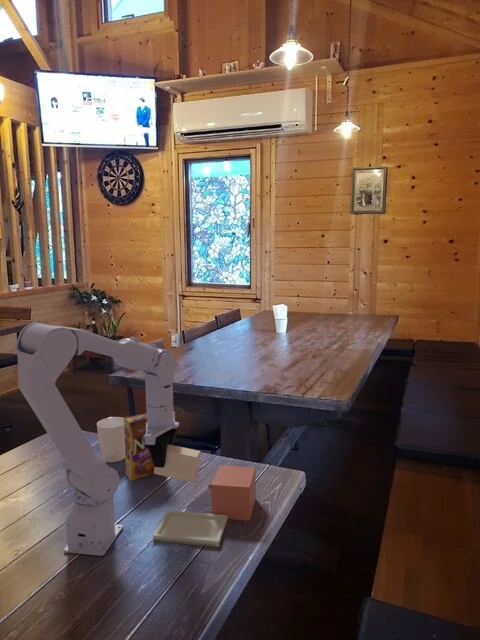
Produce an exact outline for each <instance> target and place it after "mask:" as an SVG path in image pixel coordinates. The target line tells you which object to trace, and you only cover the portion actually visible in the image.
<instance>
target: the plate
mask: <svg viewBox="0 0 480 640" xmlns="http://www.w3.org/2000/svg"><path fill="white" fill-rule="evenodd" d="M228 521H229V519H228V515H220V514H212V513H207V512H196V511H195V512H193V511H179V510H169V509H168V510H167V511H166V512H165V513H164V516H163V517H162V518H161V521H160V523H159V525H158V526H157V528H156V529H155V531H154V532H153V535H152V541H153V542H158V543H159V542H160V543H167V544H168V543H169V544H171V543H172V544H181V545H190V546H191V545H193V546H201V547H202V546H203V547H204V546H205V547H214V548H219V547H220V545H221V543H222V539H223V536H224V533H225V530H226V527H227V524H228Z"/></svg>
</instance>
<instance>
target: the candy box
mask: <svg viewBox="0 0 480 640" xmlns="http://www.w3.org/2000/svg"><path fill="white" fill-rule="evenodd" d="M123 418H124V435H125V475H126V477H127V478H128V479H129V480H130V481H131V482H133V481H136V480H138V479H142V478H147V477H149V476H152V475H155V474H154V464H153V461H152V457H151V454H150V452H149V450H148V448H147V446H146V445H145V443H144V442H143V437H144V435H145V434H146V423H147V412H146V413H141V414H135V415H130V416H124V417H123Z"/></svg>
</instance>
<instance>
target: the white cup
mask: <svg viewBox="0 0 480 640" xmlns="http://www.w3.org/2000/svg"><path fill="white" fill-rule="evenodd" d="M96 429H97V438H98V446H99V451H100V453H99V454H100V457H101V458H102V459H103V460H104V461H105V462H106V463H118V462H120V461H124V459H125V435H124V417H121V416H118V417H117V416H110V417H107V418H103V419H101V420H99V421H97V422H96Z"/></svg>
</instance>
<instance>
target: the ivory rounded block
mask: <svg viewBox="0 0 480 640" xmlns="http://www.w3.org/2000/svg"><path fill="white" fill-rule="evenodd" d="M200 455H201V450H198V449H193V448H188V447H182V446H178V445H174V444H173V445H169V444H168V446H167V451H166V461H165V466H164V468H160V467H154V474H153V475H159V476H161V477H168V478H172V479H177V480H182V481H186V482H190V483H194V482H195V480H196V479H197V476H198V472H199V467H200V466H199V464H200V457H201V456H200Z"/></svg>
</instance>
